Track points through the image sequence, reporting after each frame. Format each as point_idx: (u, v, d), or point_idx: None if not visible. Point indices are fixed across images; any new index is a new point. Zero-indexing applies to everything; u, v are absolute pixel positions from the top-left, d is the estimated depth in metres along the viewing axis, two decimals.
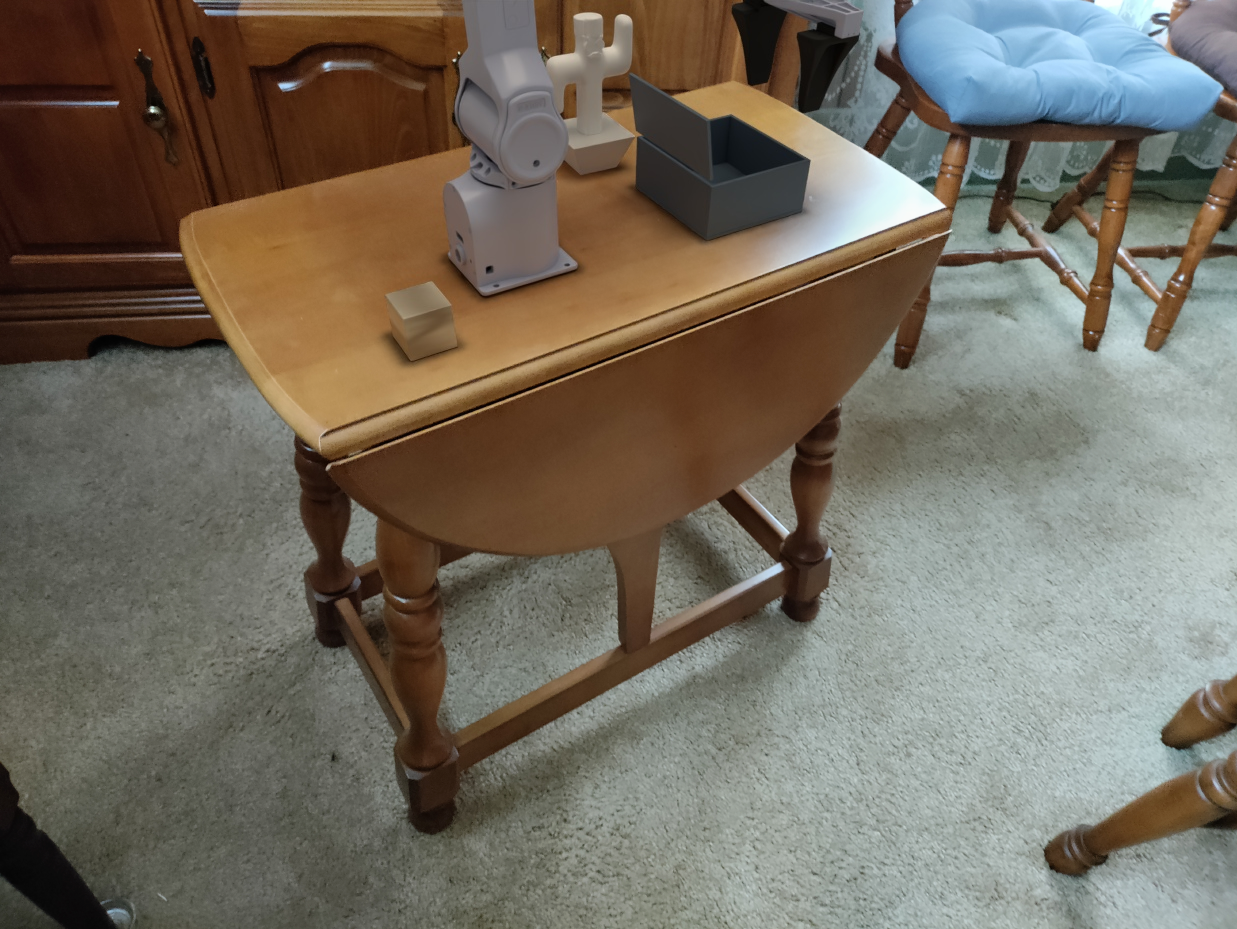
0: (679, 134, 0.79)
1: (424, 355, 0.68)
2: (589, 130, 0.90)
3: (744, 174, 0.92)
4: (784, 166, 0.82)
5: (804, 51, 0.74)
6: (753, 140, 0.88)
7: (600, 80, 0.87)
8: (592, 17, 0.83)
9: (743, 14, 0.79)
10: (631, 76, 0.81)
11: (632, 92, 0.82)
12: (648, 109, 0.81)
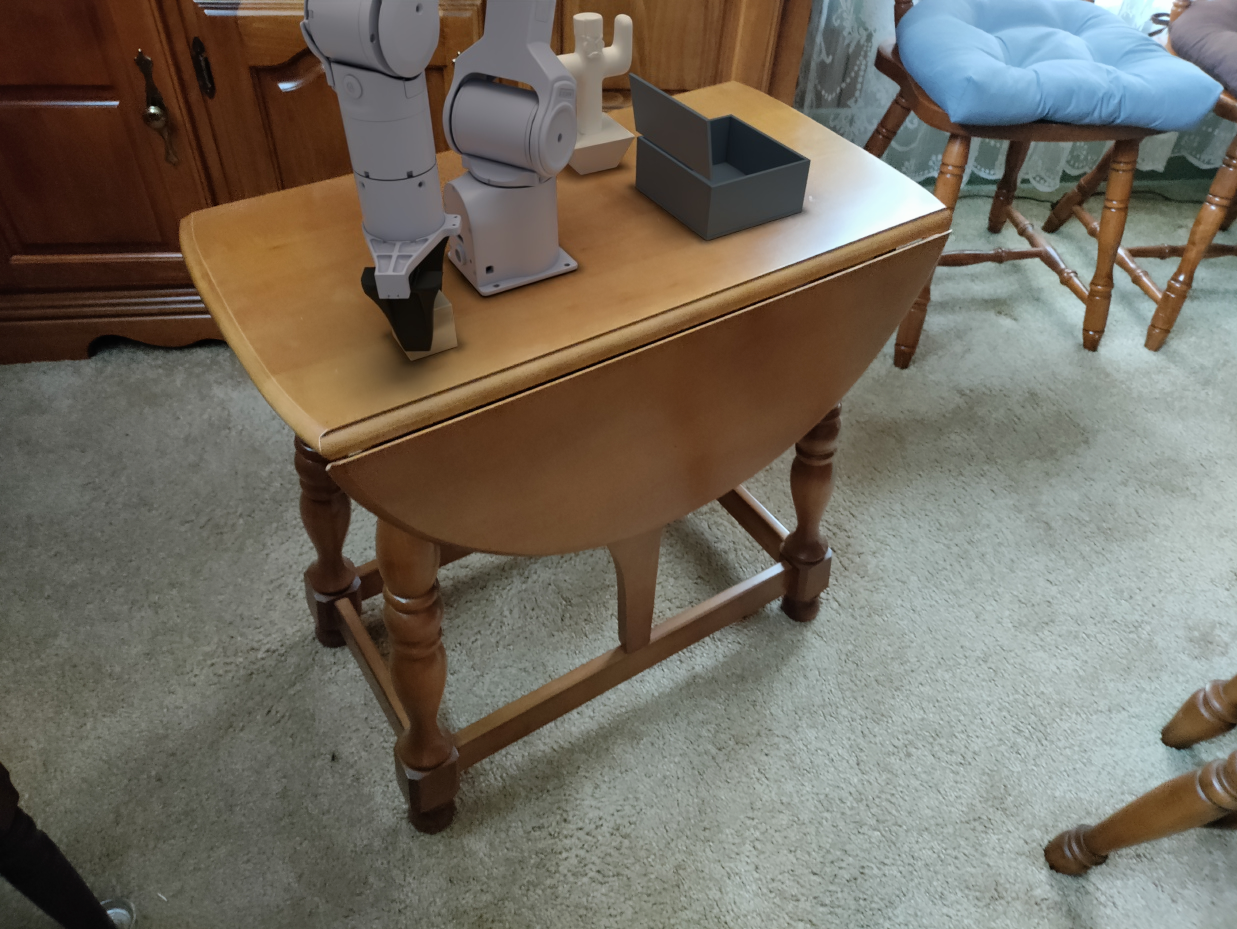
0: (679, 134, 0.79)
1: (424, 355, 0.68)
2: (589, 130, 0.90)
3: (744, 174, 0.92)
4: (784, 166, 0.82)
5: None
6: (753, 140, 0.88)
7: (600, 80, 0.87)
8: (592, 17, 0.83)
9: None
10: (631, 76, 0.81)
11: (632, 92, 0.82)
12: (648, 109, 0.81)
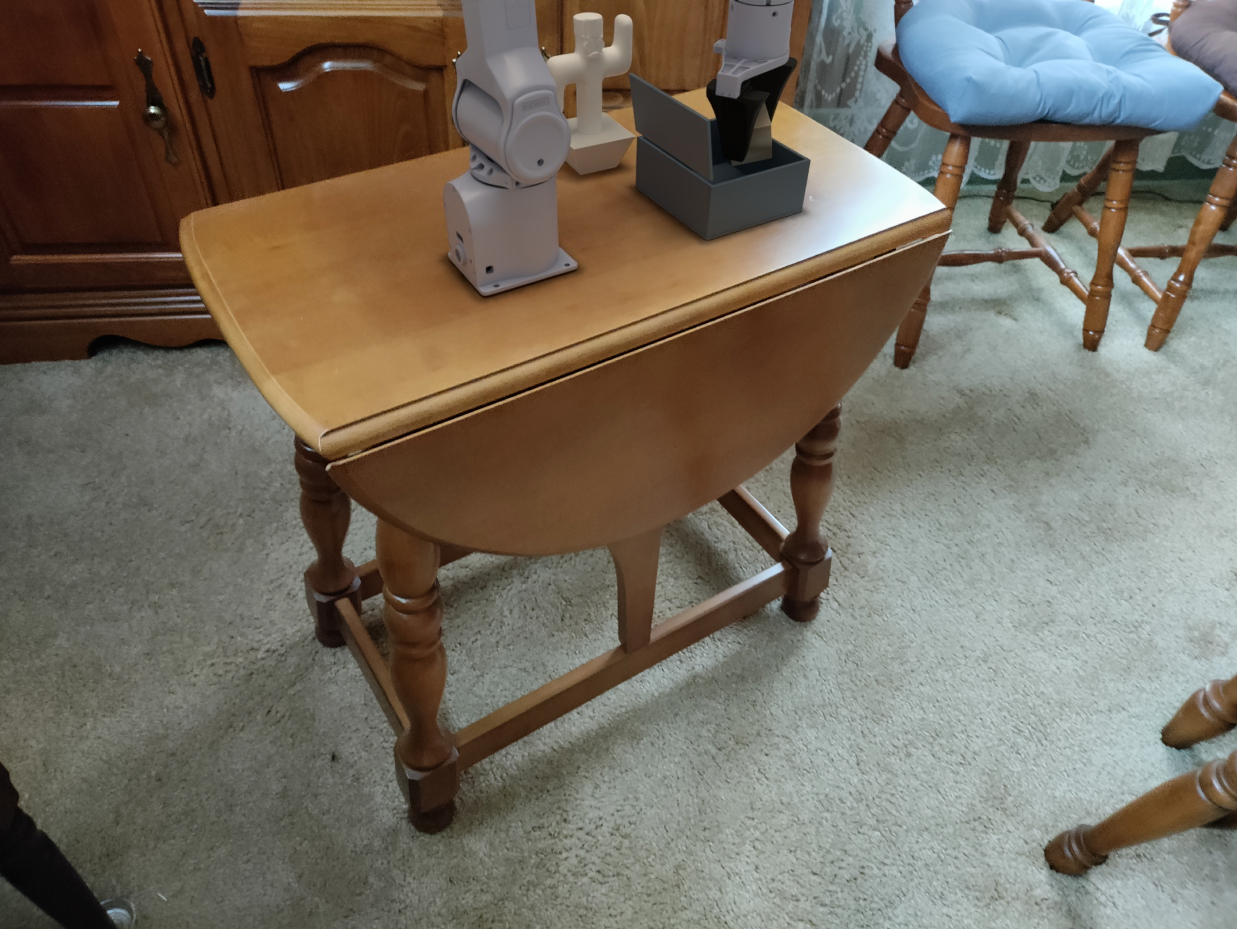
0: (679, 134, 0.79)
1: None
2: (589, 130, 0.90)
3: (744, 174, 0.92)
4: (784, 166, 0.82)
5: (787, 78, 0.84)
6: None
7: (600, 80, 0.87)
8: (592, 17, 0.83)
9: (768, 94, 0.78)
10: (631, 76, 0.81)
11: (632, 92, 0.82)
12: (648, 109, 0.81)
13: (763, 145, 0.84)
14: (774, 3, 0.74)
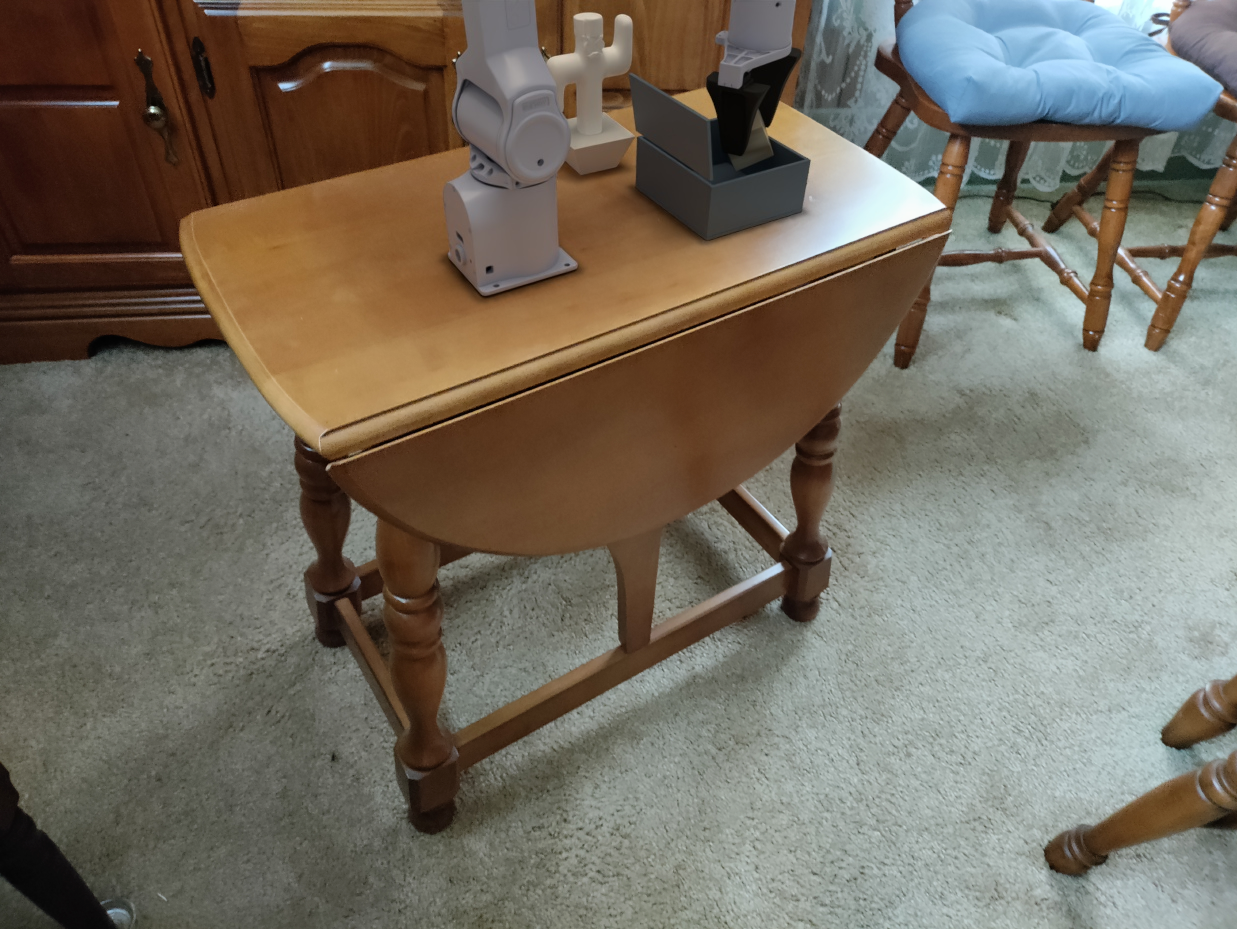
0: (679, 134, 0.79)
1: None
2: (589, 130, 0.90)
3: (744, 174, 0.92)
4: (784, 166, 0.82)
5: (792, 69, 0.84)
6: None
7: (600, 80, 0.87)
8: (592, 17, 0.83)
9: (769, 87, 0.78)
10: (631, 76, 0.81)
11: (632, 92, 0.82)
12: (648, 109, 0.81)
13: (760, 146, 0.84)
14: None
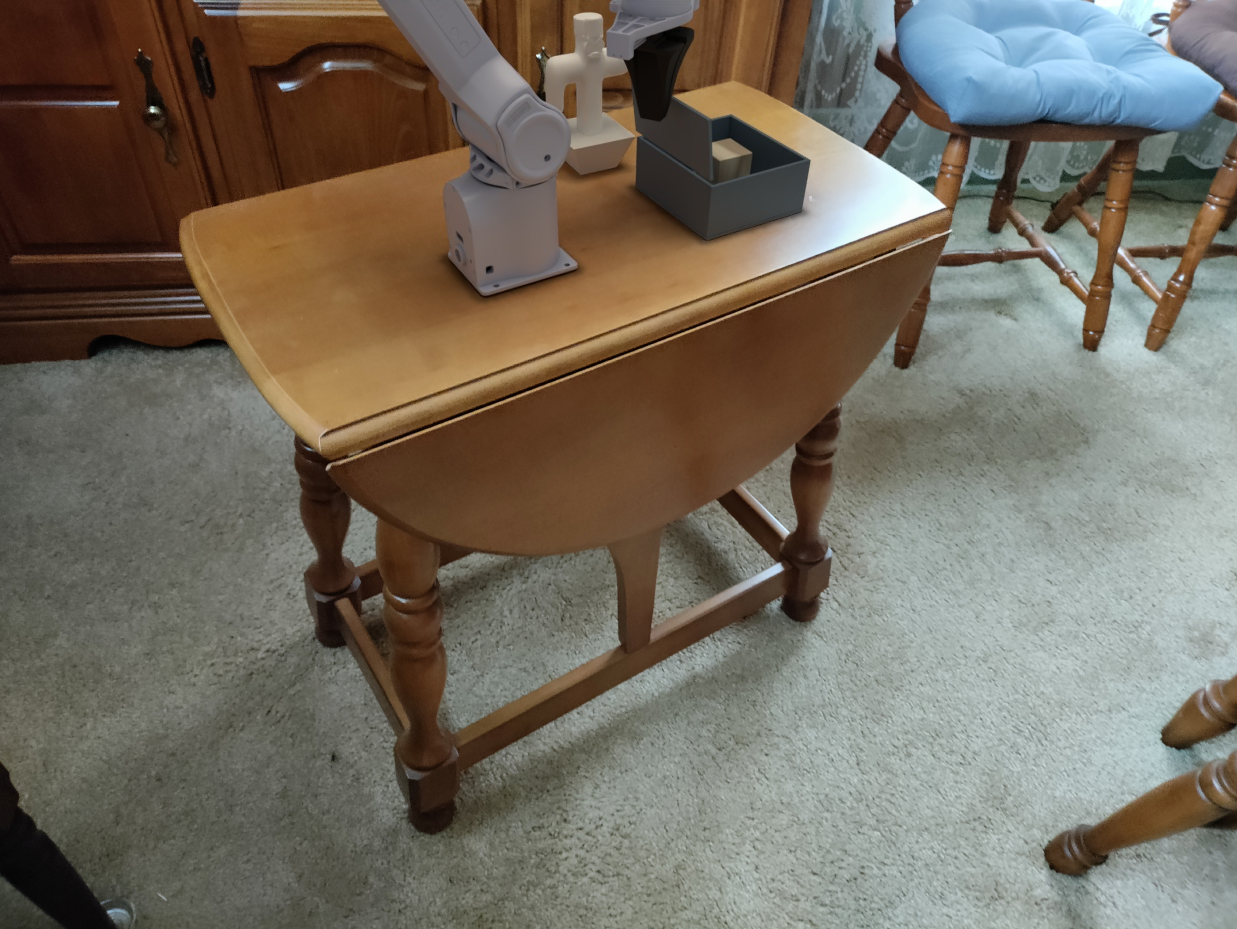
0: (680, 134, 0.79)
1: None
2: (589, 130, 0.90)
3: None
4: (784, 166, 0.82)
5: (684, 51, 0.73)
6: (753, 140, 0.88)
7: (600, 80, 0.87)
8: (592, 17, 0.83)
9: (683, 45, 0.72)
10: None
11: (633, 92, 0.82)
12: None
13: (737, 164, 0.86)
14: None
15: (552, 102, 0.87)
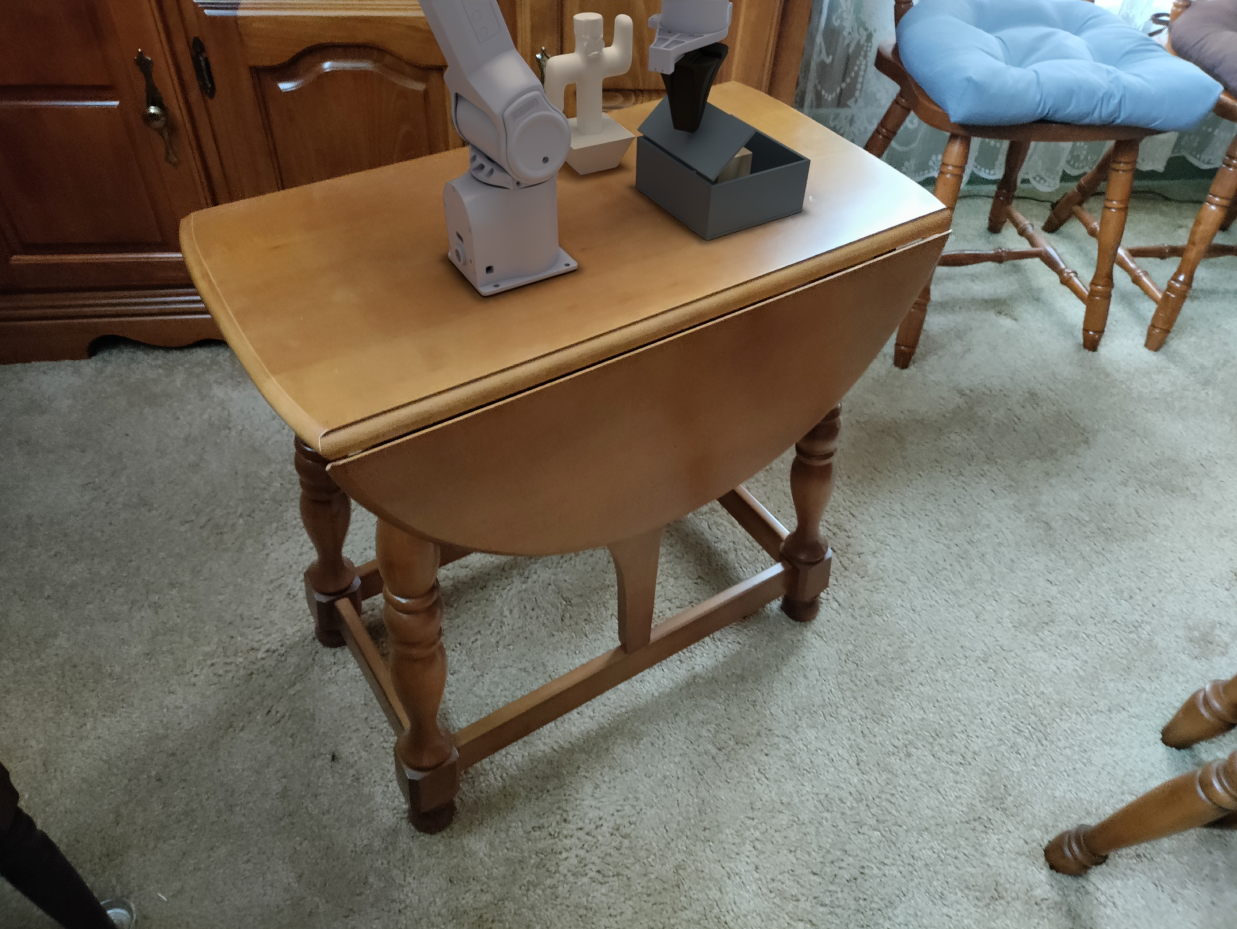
0: (703, 137, 0.80)
1: None
2: (589, 130, 0.90)
3: None
4: (784, 166, 0.82)
5: (718, 66, 0.77)
6: (753, 140, 0.88)
7: (600, 80, 0.87)
8: (592, 17, 0.83)
9: (718, 60, 0.75)
10: None
11: (665, 98, 0.85)
12: None
13: (737, 164, 0.86)
14: None
15: (552, 102, 0.87)
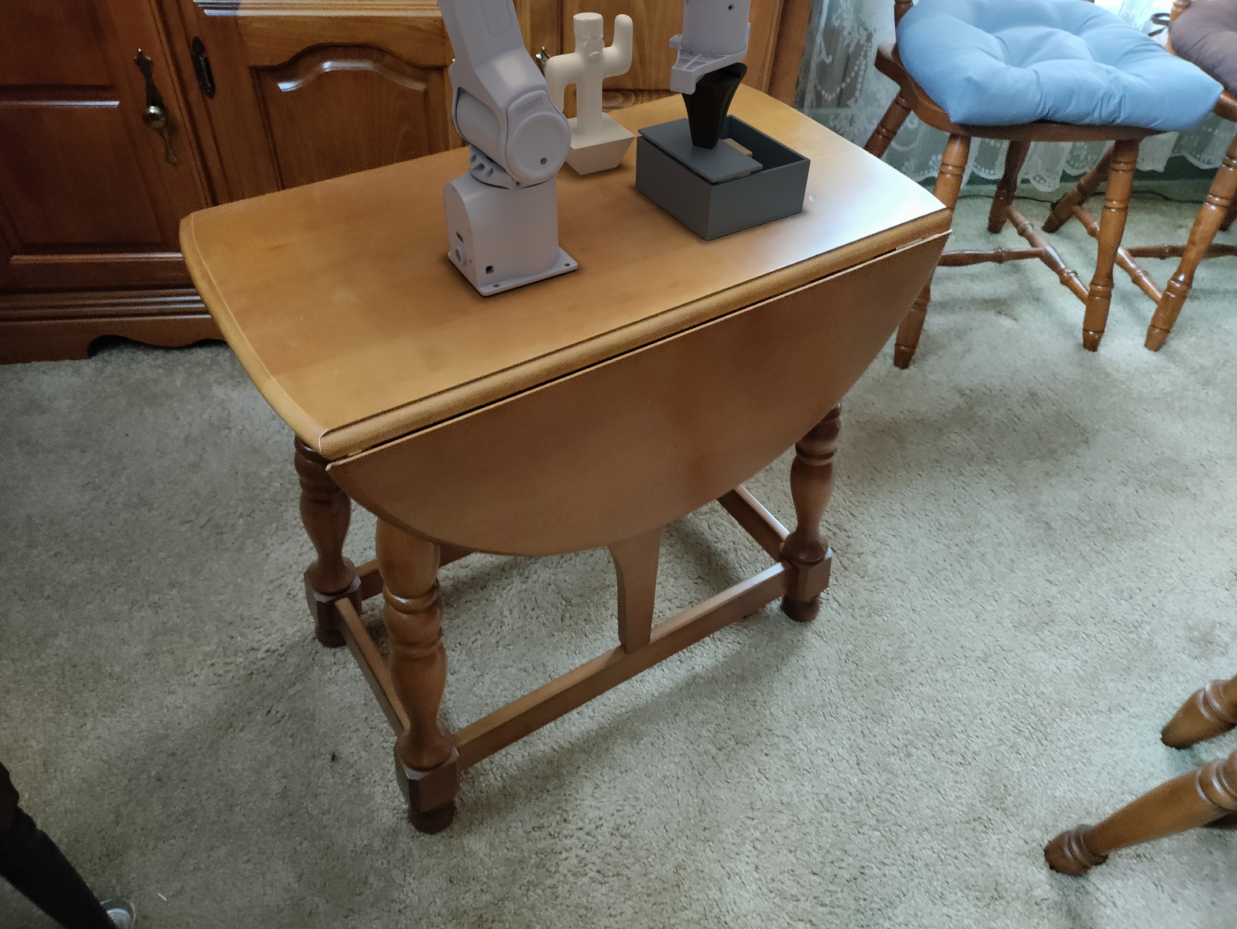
0: (708, 153, 0.82)
1: None
2: (589, 130, 0.90)
3: None
4: (784, 166, 0.82)
5: (737, 85, 0.79)
6: (753, 140, 0.88)
7: (600, 80, 0.87)
8: (592, 17, 0.83)
9: (737, 80, 0.77)
10: (687, 119, 0.87)
11: (673, 121, 0.87)
12: (683, 133, 0.85)
13: None
14: None
15: None
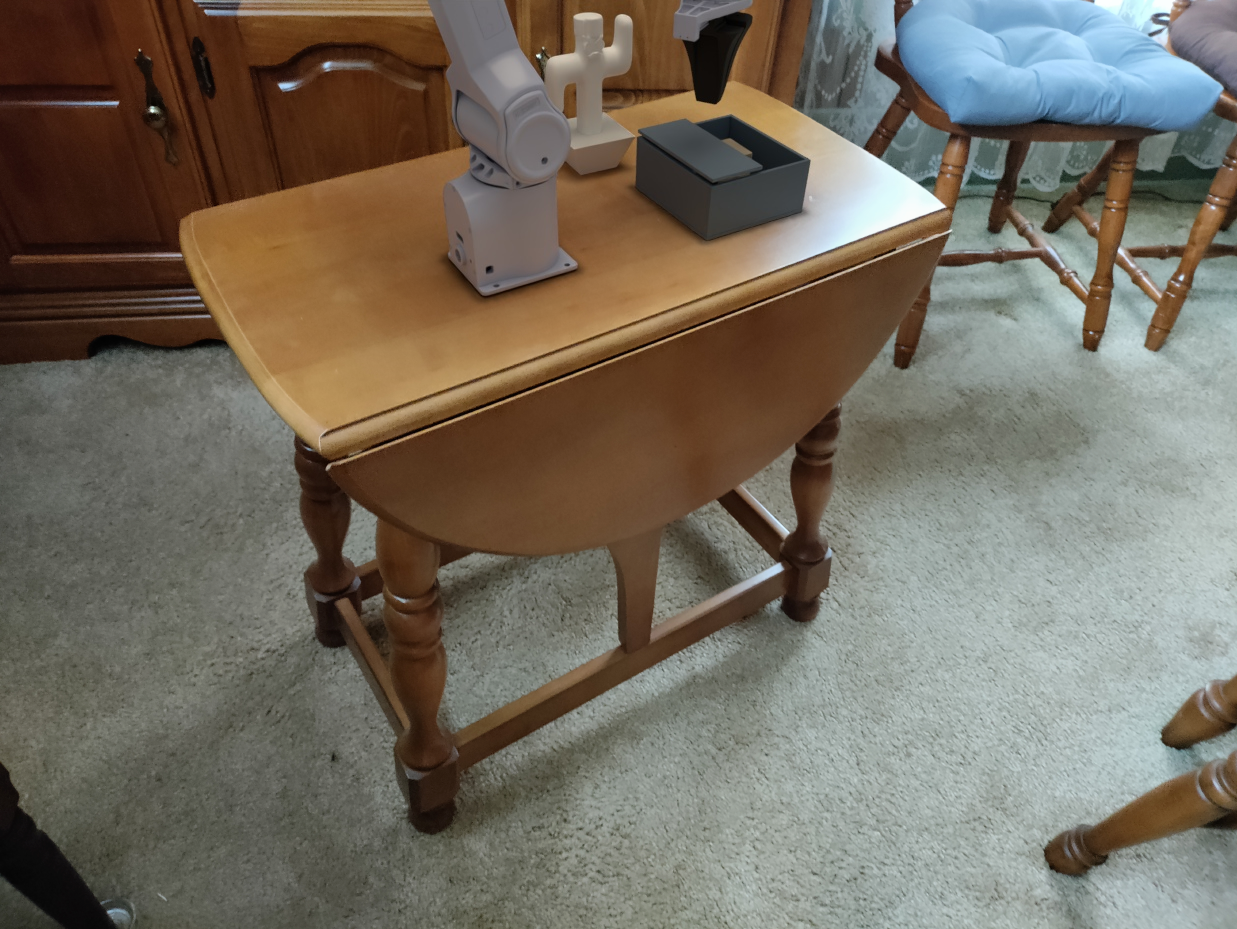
0: (708, 154, 0.82)
1: None
2: (589, 130, 0.90)
3: None
4: (784, 166, 0.82)
5: (742, 36, 0.76)
6: (753, 140, 0.88)
7: (600, 80, 0.87)
8: (592, 17, 0.83)
9: (742, 30, 0.75)
10: (687, 120, 0.87)
11: (673, 122, 0.87)
12: (683, 133, 0.85)
13: None
14: None
15: (552, 102, 0.87)
